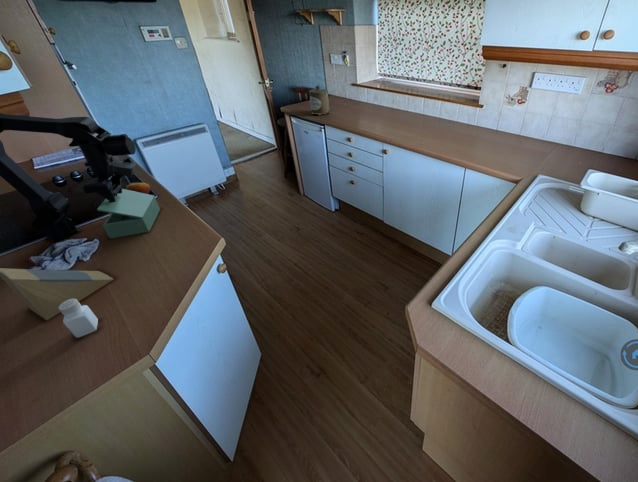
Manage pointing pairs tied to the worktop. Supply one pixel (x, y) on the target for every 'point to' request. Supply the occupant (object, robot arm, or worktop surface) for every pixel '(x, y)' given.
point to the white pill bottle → (78, 318)
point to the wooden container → (319, 100)
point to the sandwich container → (52, 287)
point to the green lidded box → (131, 222)
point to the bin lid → (127, 203)
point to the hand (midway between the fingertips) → (117, 197)
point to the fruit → (139, 187)
